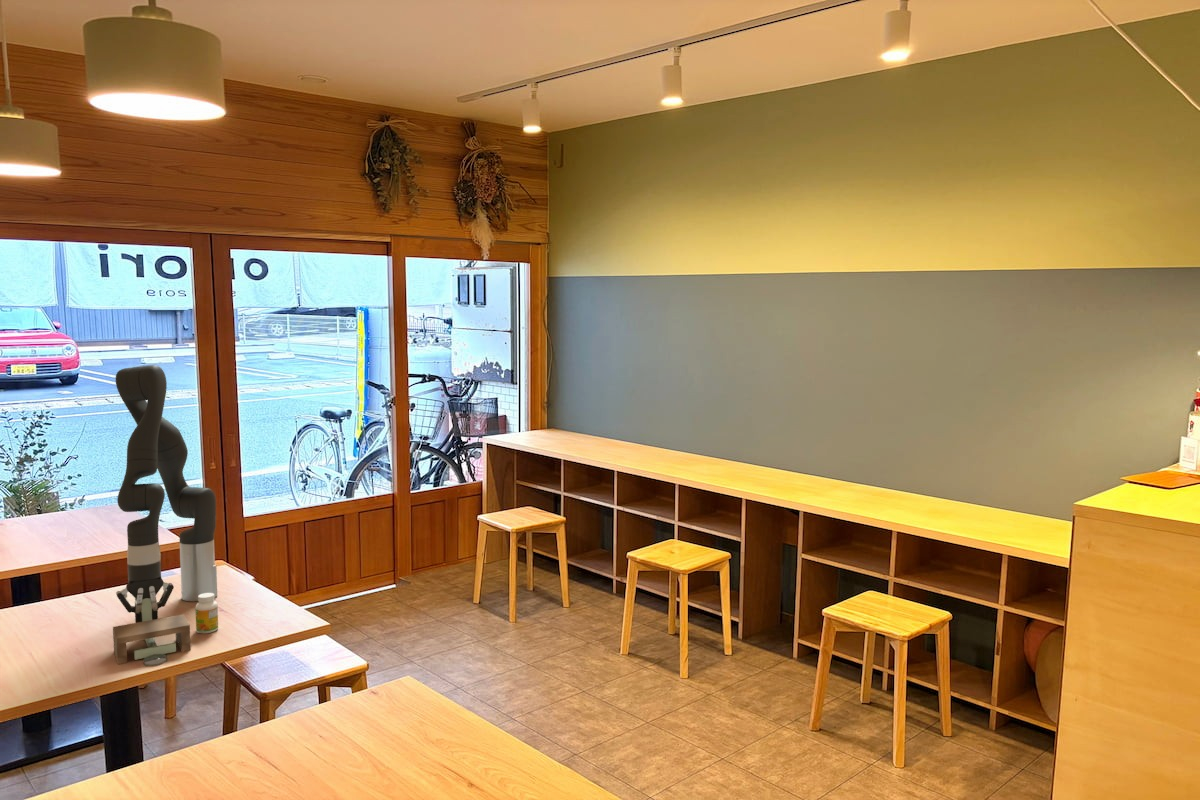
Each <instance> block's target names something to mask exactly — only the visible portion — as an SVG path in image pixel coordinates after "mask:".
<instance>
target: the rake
mask: <svg viewBox="0 0 1200 800" xmlns="http://www.w3.org/2000/svg"><path fill="white" fill-rule="evenodd" d="M141 613H142V622H143V621H149V620H152V604H151V598H145V599H143V600H142V605H141ZM142 641H145V643H146V645H147V647H145V648H140V649H135V650H133V653H134V654H133V656H134V660H136V661H137V660H140V659H144V658H146V657H148V656H150V655H154V654H165V655H167V654H171V653H175V652H177V647H176V646H177V645H176V644H177V642H171V643H167V644H160V645H157V643H156V641H155V639H154V638H149V639H143V640H142Z"/></svg>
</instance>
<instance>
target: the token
mask: <svg viewBox="0 0 1200 800" xmlns="http://www.w3.org/2000/svg"><path fill="white" fill-rule="evenodd" d="M167 660H168V656H167V654H154V655H150V656H148V657H146V658H143V665H145V666H146V667H154V666H159V665H162V664H164V663H166V662H167Z"/></svg>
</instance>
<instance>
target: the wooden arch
mask: <svg viewBox="0 0 1200 800" xmlns="http://www.w3.org/2000/svg"><path fill="white" fill-rule="evenodd" d="M190 627H191V626H190V623H189V621H188V619H187V617H186V616H185V614H179V615H178V614H177V615H172V616H168V617H167V616H166V617H161V618H158V619H155V620H149V621H143V622H138V623H136V622H133V623H128V624H127V623H126V624H123V625H117V626H116V625H115V626H112V637H113V639H112V640H113V641H112V642H113V653H114V657H115V660H116V663H117V665H121V664H126V663H128V649H127V648H128V647H127V643H133V642H138V641H144V640H143V639H149V638H153V639H154V638H159V637H163V636H168V635H169V636H170V635H174V634H175V642H176V644H177V645H178V646H179V649H180V651H181V653H182V652H183V653H184V652H187V651H191V649H192V648H191V645H192V644H191V628H190Z"/></svg>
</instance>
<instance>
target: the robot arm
mask: <svg viewBox="0 0 1200 800" xmlns="http://www.w3.org/2000/svg"><path fill="white" fill-rule="evenodd" d="M115 386H116V389H117V392H118V394H119V396H120V398H121V400H122V402H123V403H124V405H125V407H126V409H127V410H128V412H129V413H130V416H132V418H133V420H134V422H135V424H136V427H135V428H134V430H133V431H132V433H131V435H130V437H129V439H128V443H127V447H126V466H125V467H126V470H125V473H124V478H123V480H122V484H121V486H120V488H119V491H118V495H117V498H116V499H117V505H118V507H119V509H120V510H121V511H122V512H126V513H133V512H149V513H148V515H146V516H145V517H143V518H139V519H135V520H132V521H130V522H128V524H127V526H126V532H127V533H126V534H127V550H126V551H127V552H126V556H127V558H126V559H127V563H126V564H127V580H128V582H127V584H126V586H125V588H124V589H122V590H116V592H115V595H116V597H117V598H118V600H119V601H120V603H121V604H122V606H123V607H124V608H125V610H126V611H127V613H134V621H135V622H134V623H138V622H142V613H141V605H142V600H143V599H145V598H151V604H152V620H155V619H159V612H158V611H159V609H161V608H163V607H165V606H166V604H167V602H168V600H169V599H170V596H171V594H172V592H173V590H174V587H175V586H174V584H173V583H171V582H166V581H165V582H164V580H163V578H162V565H161V564H162V563H161V558H162V555H161V547H160V542H159V522H160V520H159V519H160V516H161V511H162V507H163V505H164V501H165V496H166V495H167V499H168V501H169V505H170V507H171V510H172V512H173V513H174V514H175V516H176V517H179V518H182V519H193V520H194V522H193V526H192V527H190V528H187V529H183V530H182V531H181V532H180V533H179V536H178V537H179V560H180V561H179V562H180V565H179V566H180V583H181V584H180V585H181V586H180V587H181V589H180V590H181V600H183V601H186V602H198V595H200V594H203V593H214V597H215V598H216V597H218V577H217V576H218V574H217V573H218V571H217V568H218V567H217V565H216V563H215V562H216V559H215V557H216V556H215V532H216V525H217V499H216V494H215V492H214V491H213V490H212V489H211V488H209V487H199V486H198V487H195V486H189V485H188V483H187V482H186V479H185V476H184V468H185V466H186V462H187V459H188V455H189V454H188V453H189V452H188V447H187V445H186V441H185V440H184V437H183V435H182V433H181V431H180V429H179V428H178V427H176V426H175V424H173V423H172V422H170V421H169V420H168V419H166V418H164V417H163V414H164V408H165V401H166V396H167V395H166V394H167V388H168V387H167V386H168V385H167V377H166V374H165V371H164V369H163V368H162V367H160V366H159V365H156V364H149V365H140V366H132V367H125V368H121V369H120V370H118V371H117V372H116V373H115ZM157 471H158V473H159V475H160V478H161V480H162V483H163V486H164V487H163V486H162V485H161V484H159V483H154V482H153V483H151V482H150V483H149V482H148V483H137V481H139V480H141V479H142V478H143V479H144V478H148V477H151V476H153V475H155V474H156V473H157ZM165 492H166V493H165ZM161 589H162V591H163V593H162V594H161V597H160V599H159V600H158V601H157V595H158V593H159V592H160V590H161ZM128 593H129V594H131V596H133V598H134V605H131V604H130V603H129V600H128V599H127V597H128Z"/></svg>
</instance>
